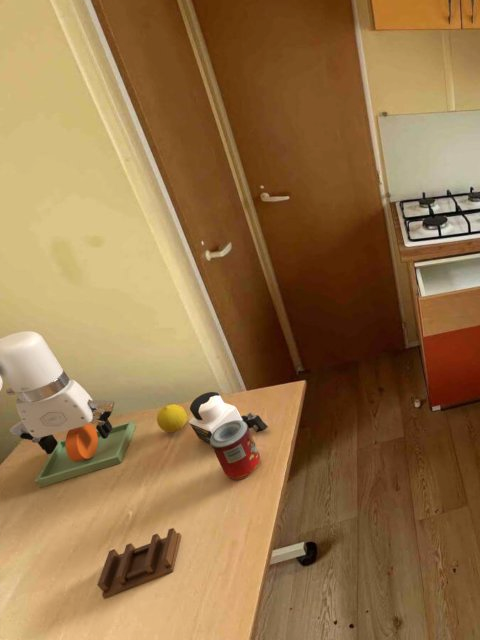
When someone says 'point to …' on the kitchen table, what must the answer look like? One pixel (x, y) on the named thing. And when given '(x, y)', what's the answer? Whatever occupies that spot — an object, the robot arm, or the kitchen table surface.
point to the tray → (105, 456)
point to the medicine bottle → (211, 415)
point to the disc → (81, 443)
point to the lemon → (171, 418)
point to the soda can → (235, 449)
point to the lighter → (254, 422)
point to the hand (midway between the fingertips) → (80, 441)
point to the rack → (139, 564)
